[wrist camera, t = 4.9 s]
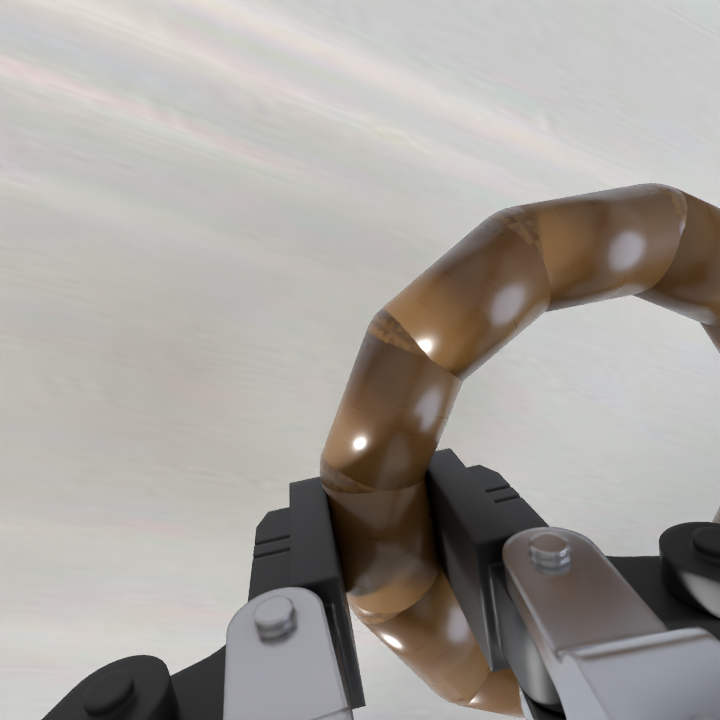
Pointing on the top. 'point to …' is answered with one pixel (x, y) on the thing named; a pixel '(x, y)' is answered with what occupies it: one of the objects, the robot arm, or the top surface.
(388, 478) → the ring
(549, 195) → the top surface
